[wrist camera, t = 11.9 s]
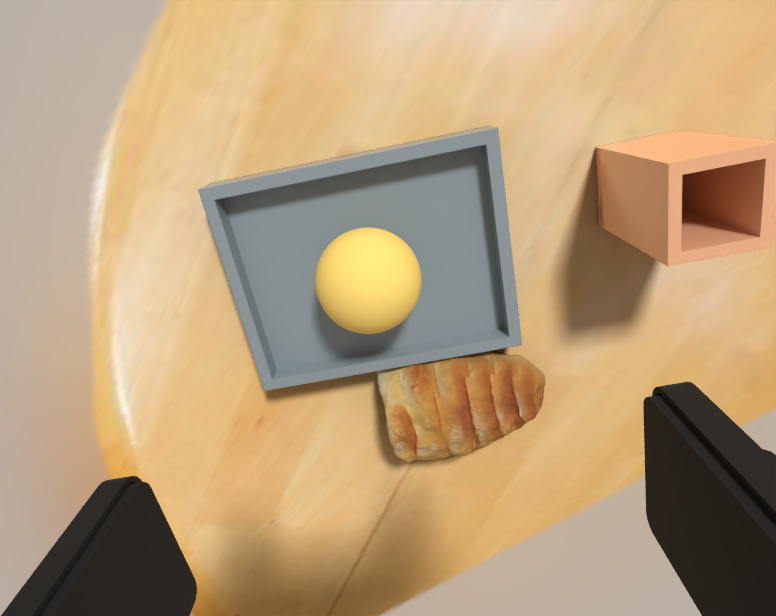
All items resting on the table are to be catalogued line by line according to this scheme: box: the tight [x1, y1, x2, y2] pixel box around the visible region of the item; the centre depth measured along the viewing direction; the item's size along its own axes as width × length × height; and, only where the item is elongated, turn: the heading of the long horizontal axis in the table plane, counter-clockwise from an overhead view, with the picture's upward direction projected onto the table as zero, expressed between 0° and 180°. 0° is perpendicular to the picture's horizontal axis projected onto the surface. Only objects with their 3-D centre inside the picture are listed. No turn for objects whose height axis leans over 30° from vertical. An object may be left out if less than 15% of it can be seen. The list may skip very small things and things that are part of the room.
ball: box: [315, 227, 422, 334], centre depth 24 cm, size 5×5×5 cm
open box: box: [596, 130, 776, 266], centre depth 23 cm, size 4×4×7 cm
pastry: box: [377, 351, 545, 462], centre depth 29 cm, size 9×7×4 cm
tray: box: [198, 126, 522, 391], centre depth 27 cm, size 14×11×2 cm
